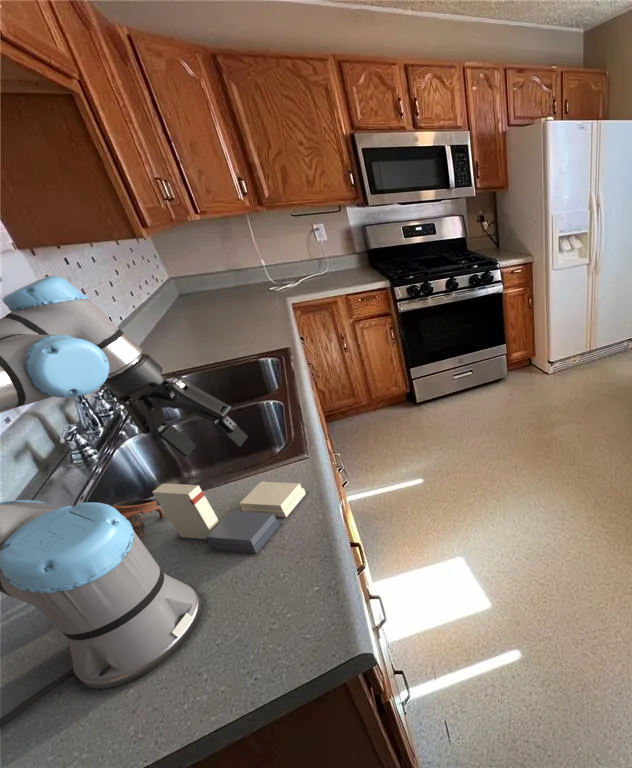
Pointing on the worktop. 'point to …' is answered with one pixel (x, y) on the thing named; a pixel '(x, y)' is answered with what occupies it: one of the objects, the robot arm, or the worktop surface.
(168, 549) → the worktop surface
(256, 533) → the grey books
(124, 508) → the brown footed bowl
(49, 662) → the worktop surface
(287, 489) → the cream books
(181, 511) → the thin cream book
